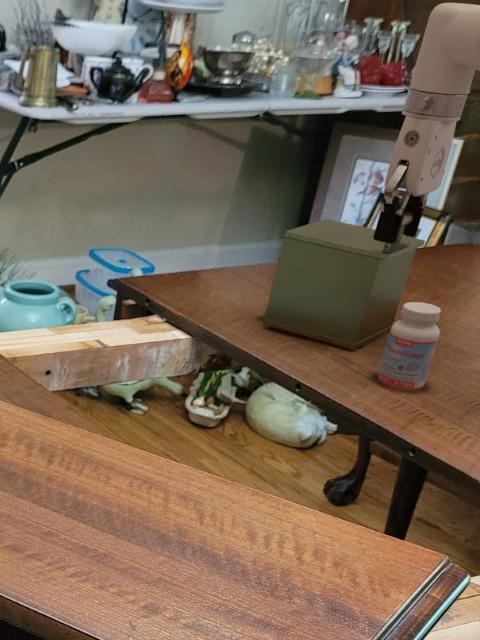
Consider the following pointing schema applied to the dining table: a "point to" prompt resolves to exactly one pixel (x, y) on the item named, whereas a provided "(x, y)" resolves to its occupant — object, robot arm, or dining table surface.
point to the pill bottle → (411, 346)
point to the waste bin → (335, 293)
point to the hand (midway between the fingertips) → (394, 236)
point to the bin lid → (355, 238)
